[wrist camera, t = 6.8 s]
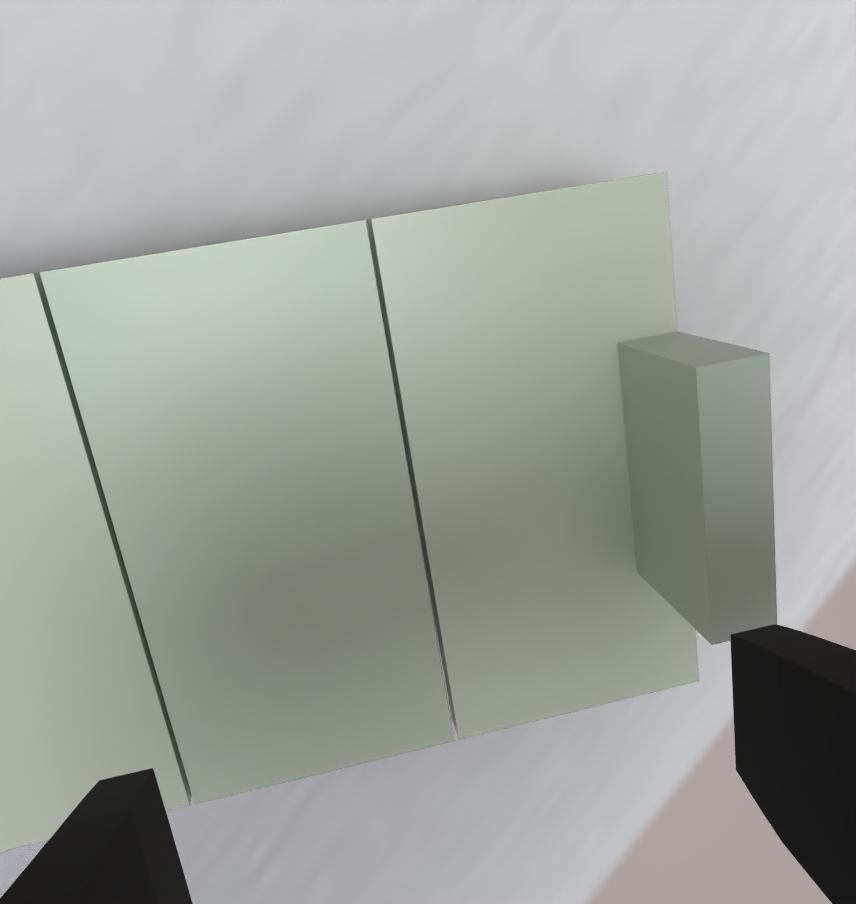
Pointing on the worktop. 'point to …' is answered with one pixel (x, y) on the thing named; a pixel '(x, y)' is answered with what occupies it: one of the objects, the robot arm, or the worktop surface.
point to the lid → (362, 495)
